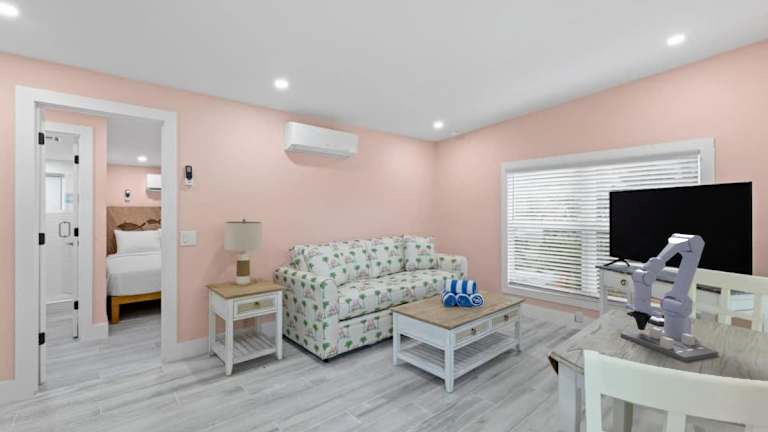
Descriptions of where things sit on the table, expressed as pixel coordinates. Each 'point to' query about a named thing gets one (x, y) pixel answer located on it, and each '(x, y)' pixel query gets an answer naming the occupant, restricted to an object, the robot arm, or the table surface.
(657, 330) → the handle
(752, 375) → the table surface
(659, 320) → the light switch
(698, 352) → the breaker panel
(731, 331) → the table surface
